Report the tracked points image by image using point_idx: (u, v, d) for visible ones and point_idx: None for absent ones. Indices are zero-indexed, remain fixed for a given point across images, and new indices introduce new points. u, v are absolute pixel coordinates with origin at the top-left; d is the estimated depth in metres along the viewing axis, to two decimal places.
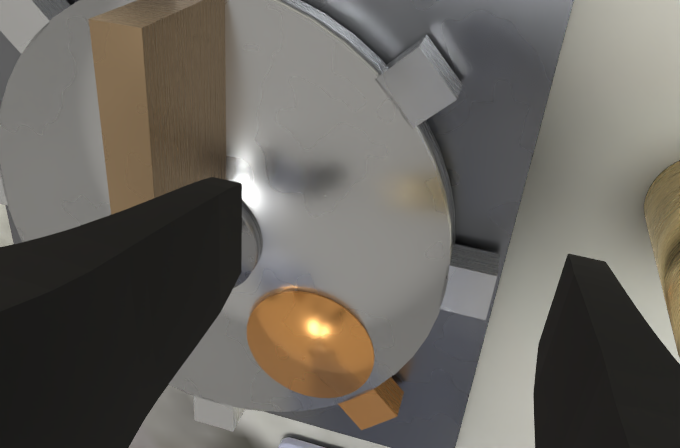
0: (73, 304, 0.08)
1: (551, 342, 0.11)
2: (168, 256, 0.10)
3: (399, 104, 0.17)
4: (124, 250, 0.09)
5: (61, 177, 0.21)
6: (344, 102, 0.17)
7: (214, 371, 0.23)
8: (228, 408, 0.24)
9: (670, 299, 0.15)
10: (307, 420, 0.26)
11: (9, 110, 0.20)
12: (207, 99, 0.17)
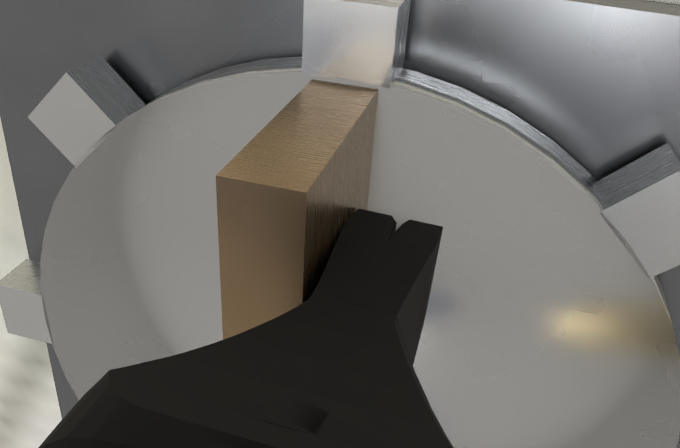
0: None
1: None
2: (408, 315, 0.09)
3: (633, 246, 0.11)
4: (396, 317, 0.08)
5: (124, 316, 0.16)
6: (546, 241, 0.12)
7: None
8: None
9: None
10: None
11: (56, 234, 0.15)
12: None
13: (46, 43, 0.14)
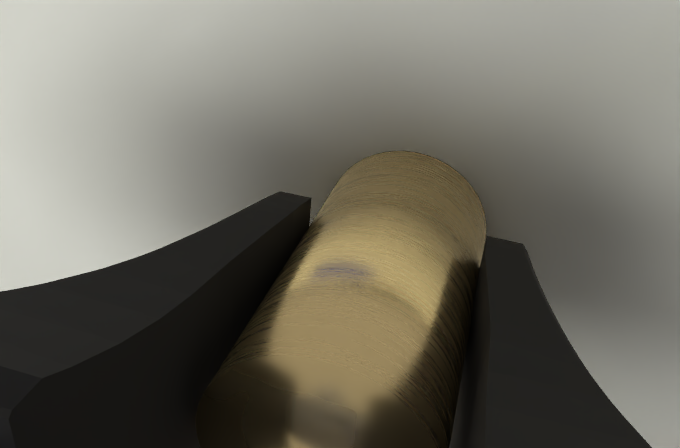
0: (174, 331, 0.08)
1: None
2: (250, 276, 0.10)
3: None
4: (216, 273, 0.08)
5: None
6: None
7: None
8: None
9: None
10: None
11: None
12: None
13: None
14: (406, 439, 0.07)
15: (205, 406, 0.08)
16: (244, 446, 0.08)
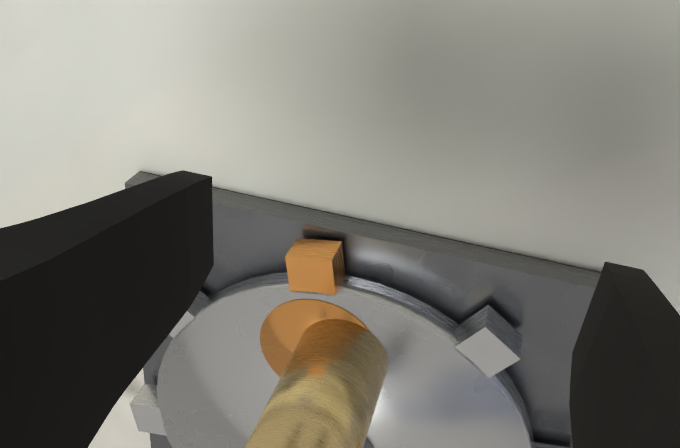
0: (30, 293, 0.08)
1: (589, 351, 0.10)
2: (133, 248, 0.10)
3: (160, 420, 0.27)
4: (85, 241, 0.09)
5: None
6: (189, 439, 0.27)
7: (437, 381, 0.22)
8: (462, 347, 0.21)
9: None
10: None
11: None
12: None
13: None
14: None
15: None
16: None
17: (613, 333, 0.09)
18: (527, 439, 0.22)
